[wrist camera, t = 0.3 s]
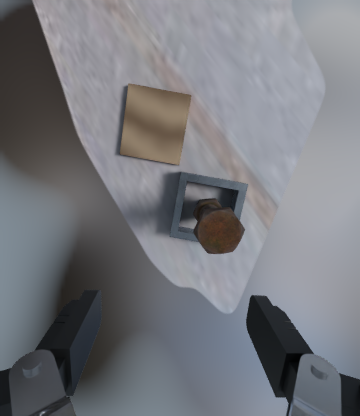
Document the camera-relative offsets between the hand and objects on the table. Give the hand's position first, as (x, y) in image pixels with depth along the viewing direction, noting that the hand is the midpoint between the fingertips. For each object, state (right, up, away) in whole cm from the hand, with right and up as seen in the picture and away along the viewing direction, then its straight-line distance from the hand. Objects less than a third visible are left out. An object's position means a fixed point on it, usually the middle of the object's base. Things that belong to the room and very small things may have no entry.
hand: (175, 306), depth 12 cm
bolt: (+5, +5, +28) cm, 29 cm away
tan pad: (-4, +19, +25) cm, 32 cm away
